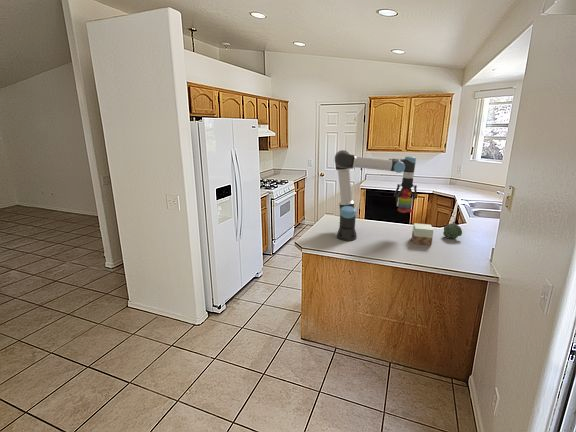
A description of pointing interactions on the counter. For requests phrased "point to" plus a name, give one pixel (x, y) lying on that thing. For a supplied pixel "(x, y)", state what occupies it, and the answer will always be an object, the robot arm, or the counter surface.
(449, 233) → the vegetable
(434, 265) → the counter surface
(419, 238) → the lower slab
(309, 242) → the counter surface
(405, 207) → the stacking bear
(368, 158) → the robot arm
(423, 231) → the upper slab
